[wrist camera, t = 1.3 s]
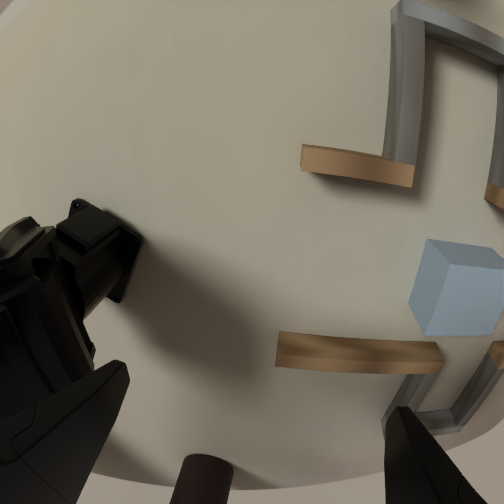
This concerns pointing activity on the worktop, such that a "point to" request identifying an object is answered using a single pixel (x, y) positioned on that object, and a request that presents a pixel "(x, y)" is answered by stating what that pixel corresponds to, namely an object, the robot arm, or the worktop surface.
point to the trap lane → (401, 173)
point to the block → (458, 289)
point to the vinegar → (203, 481)
